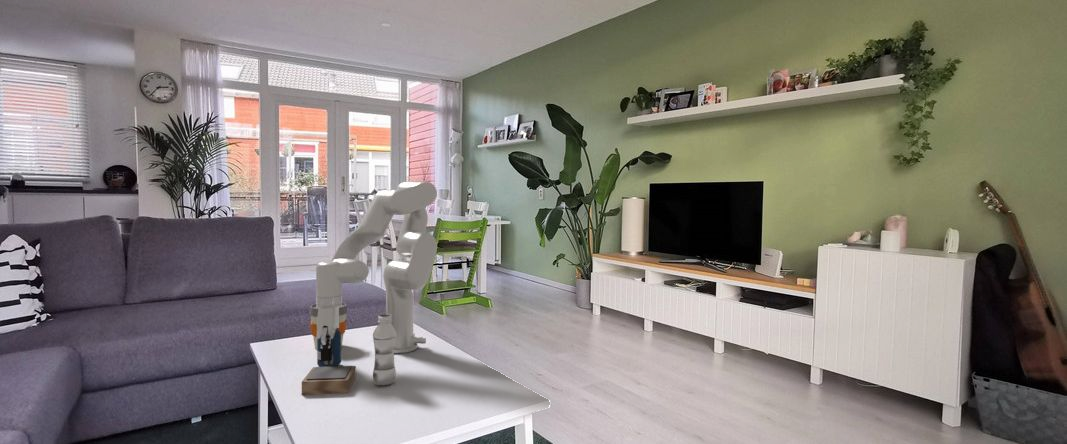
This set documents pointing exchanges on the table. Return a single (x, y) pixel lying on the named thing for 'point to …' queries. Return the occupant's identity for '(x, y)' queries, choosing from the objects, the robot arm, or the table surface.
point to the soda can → (335, 351)
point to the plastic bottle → (384, 351)
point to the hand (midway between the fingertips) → (329, 356)
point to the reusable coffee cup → (313, 322)
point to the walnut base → (329, 380)
